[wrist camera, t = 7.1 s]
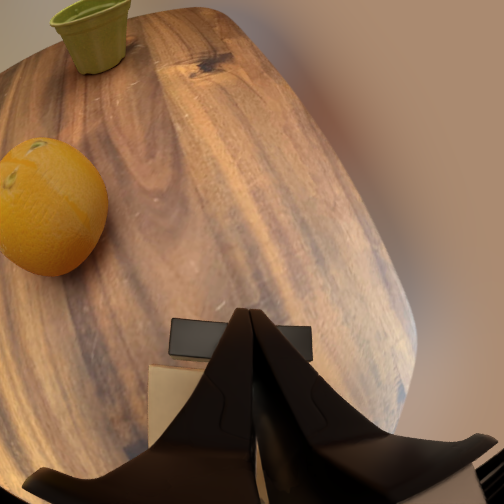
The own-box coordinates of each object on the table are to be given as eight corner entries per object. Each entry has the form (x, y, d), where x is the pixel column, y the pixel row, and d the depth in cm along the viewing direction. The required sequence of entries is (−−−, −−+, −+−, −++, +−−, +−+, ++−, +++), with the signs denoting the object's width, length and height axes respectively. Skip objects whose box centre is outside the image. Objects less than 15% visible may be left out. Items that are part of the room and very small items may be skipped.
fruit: (135, 191, 19) (108, 114, 11) (102, 299, 16) (39, 268, 8) (47, 177, 18) (5, 116, 10) (13, 268, 15) (-53, 231, 7)
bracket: (152, 363, 15) (81, 396, 5) (292, 371, 17) (399, 400, 7) (156, 510, 12) (136, 608, 1) (280, 512, 13) (338, 600, 3)
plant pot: (61, 65, 22) (46, 15, 14) (125, 36, 25) (121, -15, 17) (73, 96, 21) (53, 33, 12) (150, 60, 24) (147, -3, 15)
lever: (175, 328, 11) (170, 312, 8) (295, 336, 11) (317, 322, 9) (174, 541, 6) (170, 568, 4) (292, 538, 6) (311, 561, 4)
